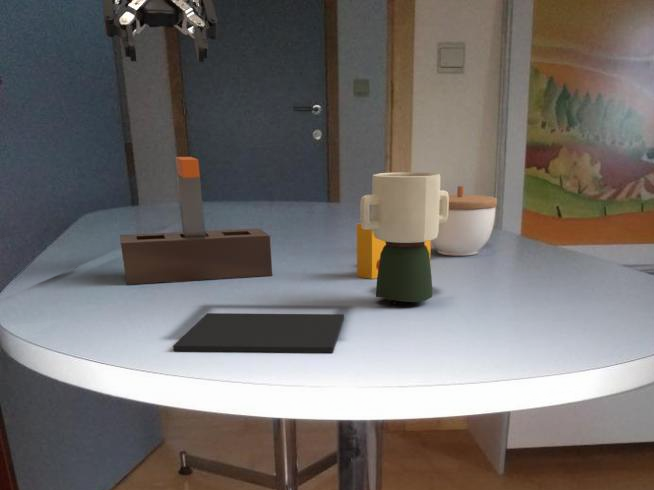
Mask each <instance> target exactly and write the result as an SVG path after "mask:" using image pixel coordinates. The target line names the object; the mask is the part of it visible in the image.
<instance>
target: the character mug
mask: <svg viewBox="0 0 654 490" xmlns="http://www.w3.org/2000/svg"><path fill="white" fill-rule="evenodd" d="M449 195H450V194H449V192H448V191H446V190H444V189H443V190H441V174H440V173H435V172H412V171H411V172H407V171H405V172H404V171H400V172H381V173H375V174H372V180H371V194H365V195H363V196H362V197H361V198H360V200H359V201H360V202H359V204H360V205H359V211H360V213H359V214H360V215H359V216H360V217H359V218H360V222H359V223H361V226H362V229H365V230H369V229H372V231H373V234H374V236H375V238H377V239H379V240H382V241H385V242H386V245H385V246H384V247H383V249H382V252H381V254H380V262H379V269H378V276H377V278H376V288H375V298H381V299H385V300H389V301H390V303H391V304H393V305H395V304H396V302H403V303H404V302H405V303H416V302H418V303H420V302H425V301H427V300H429V299H431V298H433V277H432V268H431V255H430V256H429V251H428V249H427V246H425V245H424V242H426V241H430V240H433V239H435V238H437V236H438V232H439V223H444V222H446V221H447V219H448V209H449ZM439 207H440V209H439Z"/></svg>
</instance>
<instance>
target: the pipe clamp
mask: <svg viewBox="0 0 654 490" xmlns="http://www.w3.org/2000/svg"><path fill="white" fill-rule="evenodd" d="M385 245H386V242H385V241H382V240H379V239H377V238H375V236H374V234H373V231H372V229H369V230H365V229H362V226H361V223H360V222H359V223H356V277H357V278H363V279H370V280H375V279H377V276H378V269H379V262H380V254H381V252H382V249H383V247H384V246H385ZM424 245H425V246H427V249H428V251H429V256H430V257H431V251H432V250H431V249H432V247H431V246H432V243H431V240H430V241H426V242H424Z"/></svg>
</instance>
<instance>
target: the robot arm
mask: <svg viewBox="0 0 654 490" xmlns="http://www.w3.org/2000/svg"><path fill="white" fill-rule="evenodd" d="M121 6H124V7H125V9H126V11H125V12H124V13H123V14H122V15H121V16H120V18H116V17H115V14H118V11H119V10H120V9H121ZM193 8H194V9H195V11H196V12H197V13H198V15H197V14H196V13H195V12H194V9H193ZM102 12H103V14H102V15H103V23H104V30H105V35H106V36H107V37H108V38H114V37H115V36H117V37H119V38H120V39H121V44H122V50H123V51H122V52H123V55H124V56H125V57H126V58H129V59H130V62H137V52H136V46H135V45H136V44H135V39H134V36H135V35H136V34H137V35H140V34H141V32H142V31H143V30H144V29H145V28H146V27H147V26H148V27H149V28H160V27H163V28H167V29H169V28H170V29H173V28H176V29H177V30H178V31H179V32H181V33H182V34H183V35H185V36H187V35H188V36H189V37H191V38H192V39H193V41H194V42H193V43H194V48H195V52H196V57H197V63H205V59H208V57H209V43H208V38H209V40H216V39H218V24H219V20H218V16H217V13H216V9H215V6H214V2H213V0H102ZM201 17H202V18H201Z"/></svg>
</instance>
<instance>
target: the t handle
mask: <svg viewBox="0 0 654 490" xmlns="http://www.w3.org/2000/svg"><path fill="white" fill-rule="evenodd" d="M174 159H175V168H176V169H175V170H176V174H177V175H176V185H177V194H178V202H179V211H180V219H181V228H182V229H181V230H182V232H183V238H186V237H206V234H205V231H206V226H205V225H206V224H205V214H204V205H203V194H202V193H203V192H202V185H201V184H202V183H201V176H200V167H199V159H198V158H196V157H192V156H175V158H174Z"/></svg>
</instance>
